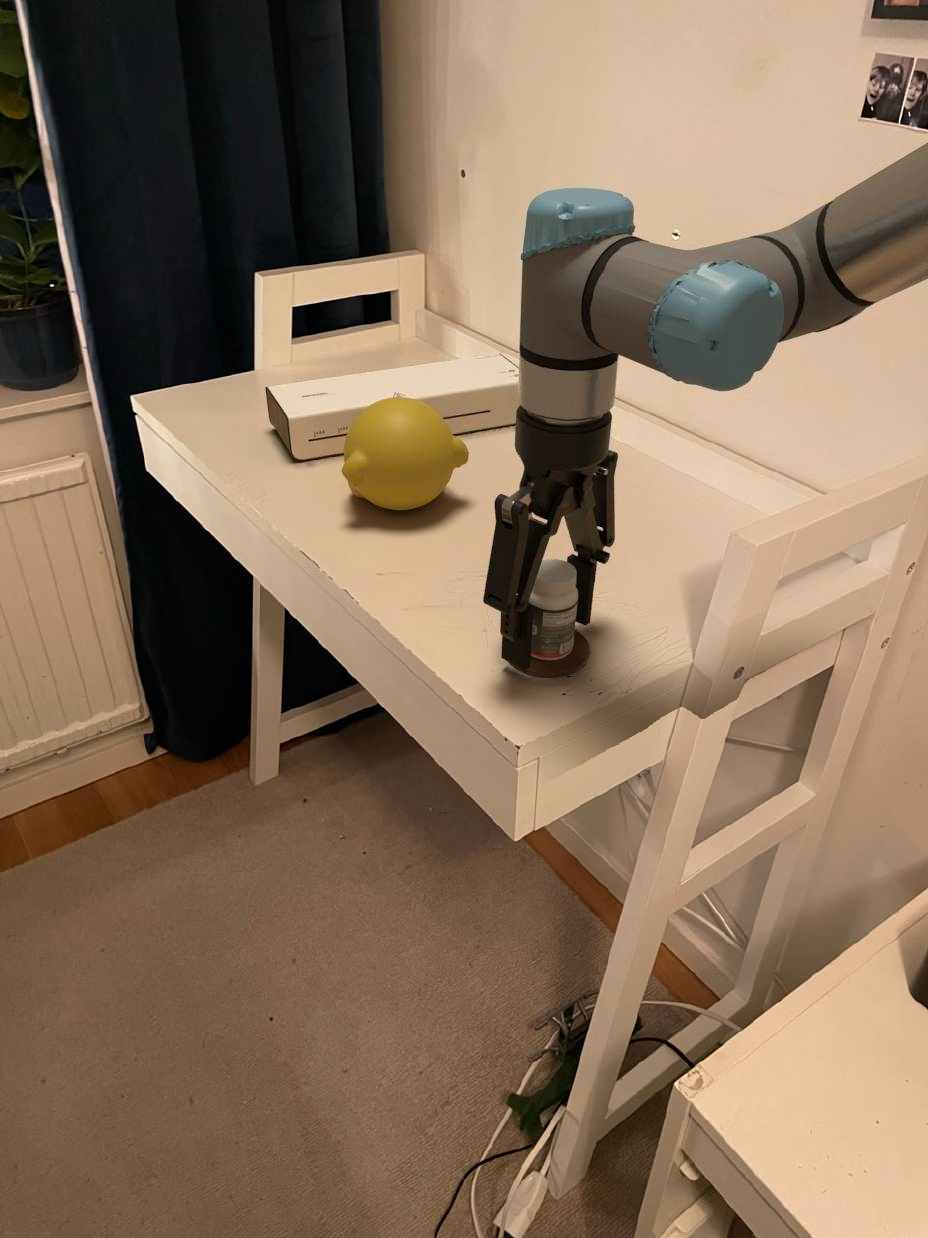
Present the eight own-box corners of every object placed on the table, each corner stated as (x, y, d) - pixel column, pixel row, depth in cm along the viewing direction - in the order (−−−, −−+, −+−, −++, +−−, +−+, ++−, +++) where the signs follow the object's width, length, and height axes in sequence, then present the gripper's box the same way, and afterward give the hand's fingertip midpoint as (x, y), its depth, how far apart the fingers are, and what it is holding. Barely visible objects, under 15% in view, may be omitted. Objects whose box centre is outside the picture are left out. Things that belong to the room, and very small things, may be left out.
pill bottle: (516, 633, 88) (520, 557, 83) (565, 629, 89) (572, 553, 84) (527, 664, 84) (532, 587, 79) (578, 659, 85) (586, 582, 80)
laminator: (291, 463, 118) (286, 417, 114) (268, 426, 127) (262, 382, 123) (532, 422, 129) (534, 378, 125) (494, 390, 138) (496, 349, 135)
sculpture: (431, 447, 117) (448, 365, 106) (469, 523, 111) (491, 444, 100) (315, 467, 112) (321, 382, 101) (349, 548, 106) (359, 467, 95)
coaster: (606, 648, 87) (606, 644, 87) (554, 689, 82) (554, 684, 82) (538, 615, 91) (539, 611, 91) (485, 651, 86) (485, 647, 86)
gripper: (603, 360, 81) (581, 578, 95) (436, 434, 68) (438, 675, 82) (677, 382, 77) (644, 607, 90) (515, 465, 64) (504, 714, 78)
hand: (546, 639), depth 86 cm, fingers open, 8 cm apart
